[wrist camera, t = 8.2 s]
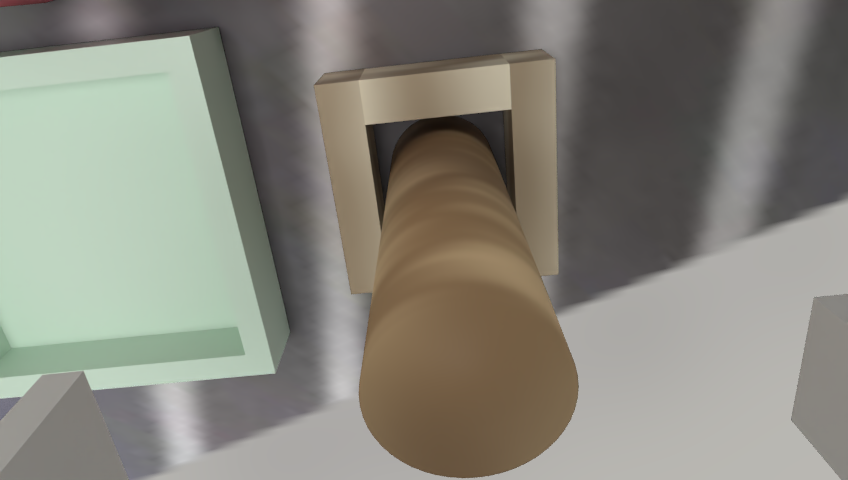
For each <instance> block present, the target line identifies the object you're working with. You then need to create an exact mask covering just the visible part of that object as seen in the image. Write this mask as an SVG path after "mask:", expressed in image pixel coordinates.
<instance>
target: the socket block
mask: <svg viewBox="0 0 848 480" xmlns="http://www.w3.org/2000/svg"><path fill="white" fill-rule="evenodd" d="M314 89H315V95H316V100H317V106H318V112H319V117H320V123H321V128H322V134H323V139H324V145H325V151H326V156H327V162H328V167H329V173H330V178H331V184H332V189H333V195H334V201H335V206H336V212H337V217H338V223H339V228H340V234H341V240H342V245H343V251H344V256H345V262H346V267H347V273H348V279H349V284H350V290H351V294H359V293H370V292H373V286H374V279H375V272H376V266H377V259H378V252H379V245H380V238H381V231H382V224H383V217H384V211H385V206H384V199H383V192H382V185H381V178H380V171H379V164H378V157H377V150H376V143H375V136H374V129H373V124H379V123H389V122H398V121H407V120H417V119H426V118H435V117H445V116H454V115H463V114H473V113H482V112H491V111H501V110H503V118H504V137H505V157H506V176H507V191H508V194H509V197H510V199H511V202H512V204H513V207H514V209H515V212H516V214H517V217H518V220H519V222H520V225H521V227H522V230H523V232H524V235H525V237H526V240H527V243H528V245H529V248H530V250H531V253H532V255H533V258H534V260H535V263H536V266H537V268H538V271H539V273H540V276H546V275H557V274H558V205H557V136H556V68H555V58H553V57H552V56H550V55H549V54H548V53H546V52H545V51H543V50H542V49H539V50H530V51H521V52H512V53H503V54H494V55H485V56H476V57H467V58H458V59H449V60H440V61H431V62H422V63H413V64H404V65H395V66H386V67H377V68H367V69H358V70H349V71H340V72H331V73H324V75H323V76H322V77H321V78H320V79H319V80H318V81H317V82H316V83H315V85H314Z"/></svg>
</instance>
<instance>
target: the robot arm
mask: <svg viewBox="0 0 848 480" xmlns="http://www.w3.org/2000/svg"><path fill="white" fill-rule="evenodd" d="M791 420H792V422H793V423H794V424H795V425H796V426H797V428H798V429H799V430H800V431H801V432H802V433H803V435H804V436H805V437H806V438H807V439H808V441H809V442H810V443H811V444H812V445H813V447H814V448H815V449H816V450H817V451H818V452H819V454H820V455H821V456H822V457H823V458H824V460H825V461H826V462H827V463H828V464H829V466H830V467H831V468H832V469H833V470H834V471H835V473H836V474H837V475H838V476H839V477H840V479H841V480H848V294H843V295H834V296H823V297H814V300H813V306H812V311H811V316H810V322H809V327H808V332H807V338H806V343H805V348H804V353H803V359H802V364H801V369H800V375H799V381H798V385H797V391H796V396H795V401H794V407H793V412H792V417H791ZM0 480H129V479H128V476H127V474H126V472H125V469H124V467H123V464H122V462H121V460H120V457H119V455H118V452H117V450H116V448H115V445H114V443H113V440H112V438H111V436H110V433H109V431H108V428H107V426H106V424H105V421H104V419H103V416H102V414H101V412H100V409H99V407H98V404H97V402H96V400H95V397H94V395H93V392H92V390H91V388H90V385H89V383H88V380H87V378H86V376H85V373H84V371H76V372H66V373H56V374H46V375H42V376H41V377H40V378H39V379H38V380H37V381H36V382H35V383H34V385H33V386H32V387H31V388H30V389H29V390H28V391H27V392H26V393H25V394H24V396H23V397H22V398H21V399H20V400H19V401H18V402H17V403H16V404H15V405H14V407H13V408H12V409H11V410H10V411H9V412H8V413H7V414H6V415H5V416H4V418H3V419H2V420H1V421H0Z"/></svg>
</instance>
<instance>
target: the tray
mask: <svg viewBox="0 0 848 480" xmlns="http://www.w3.org/2000/svg"><path fill="white" fill-rule="evenodd" d="M289 334H290V329H289V324H288V320H287V316H286V312H285V307H284V303H283V299H282V295H281V290H280V286H279V282H278V278H277V273H276V269H275V265H274V261H273V256H272V252H271V248H270V244H269V239H268V235H267V231H266V227H265V222H264V218H263V214H262V210H261V205H260V201H259V197H258V193H257V188H256V184H255V180H254V176H253V171H252V167H251V163H250V159H249V154H248V150H247V146H246V142H245V137H244V133H243V129H242V125H241V120H240V116H239V112H238V108H237V103H236V99H235V95H234V91H233V86H232V82H231V78H230V74H229V69H228V65H227V61H226V57H225V52H224V48H223V44H222V40H221V35H220V31H219V27H214V28H206V29H197V30H188V31H179V32H171V33H162V34H153V35H144V36H136V37H127V38H118V39H110V40H101V41H92V42H83V43H75V44H66V45H57V46H48V47H40V48H31V49H22V50H13V51H5V52H0V398H11V397H22V396H24V394H25V393H26V392H27V391H28V390H29V389H30V388H31V387H32V386H33V385H34V383H35V382H36V381H37V380H38V379H39V378H40V377H41V376H42V375H46V374H56V373H66V372H76V371H84V373H85V376H86V378H87V380H88V383H89V385H90V388H91V390H99V389H110V388H121V387H132V386H142V385H153V384H164V383H175V382H186V381H197V380H208V379H219V378H230V377H241V376H252V375H263V374H274V373H276V371H277V368H278V365H279V362H280V360H281V357H282V354H283V351H284V348H285V346H286V343H287V340H288V337H289Z"/></svg>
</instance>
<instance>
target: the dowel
mask: <svg viewBox="0 0 848 480" xmlns="http://www.w3.org/2000/svg"><path fill="white" fill-rule="evenodd" d="M578 387H579V386H578V375H577V371H576V367H575V363H574V360H573V358H572V355H571V353H570V350H569V348H568V345H567V342H566V340H565V337H564V335H563V332H562V330H561V327H560V325H559V322H558V319H557V317H556V314H555V312H554V309H553V307H552V304H551V301H550V299H549V296H548V294H547V291H546V289H545V286H544V284H543V281H542V278H541V276H540V273H539V271H538V268H537V266H536V263H535V260H534V258H533V255H532V253H531V250H530V248H529V245H528V243H527V240H526V237H525V235H524V232H523V230H522V227H521V225H520V222H519V220H518V217H517V214H516V212H515V209H514V207H513V204H512V202H511V199H510V197H509V194H508V191H507V189H506V186H505V184H504V181H503V179H502V176H501V173H500V171H499V168H498V166H497V163H496V161H495V158H494V156H493V153H492V150H491V148H490V145H489V143H488V141H487V139H486V138H485V136H484V135H483V134H482V132H481V131H480V130H479V129H478V128H477V127H476V126H474V125H473V124H472V123H470V122H468V121H466V120H465V119H462V118H459V117H456V116H445V117H435V118H426V119H422V120H420V121H418V122H416V123H414V124H413V125H411V126H410V127H409V128H408V129H407V130H406V131H405V132H404V133H403V134H402V136H401V137H400V138H399V140H398V142H397V144H396V146H395V149H394V151H393V156H392V162H391V169H390V176H389V183H388V190H387V197H386V204H385V211H384V217H383V224H382V231H381V238H380V245H379V252H378V259H377V266H376V272H375V279H374V286H373V293H372V300H371V307H370V314H369V321H368V327H367V334H366V341H365V348H364V355H363V362H362V369H361V376H360V383H359V401H360V408H361V411H362V414H363V418H364V420H365V422H366V425H367V427H368V429H369V430H370V432H371V433H372V435H373V436H374V438H375V439H376V440H377V441H378V442H379V444H380V445H381V446H382V447H383V448H384V449H386V450H387V451H388V452H389V453H390V454H391V455H393V456H394V457H396V458H397V459H399V460H400V461H402V462H404V463H406V464H407V465H409V466H411V467H414V468H416V469H419V470H421V471H424V472H427V473H431V474H435V475H440V476H446V477H457V478H473V477H483V476H490V475H494V474H499V473H503V472H506V471H509V470H512V469H514V468H517V467H519V466H521V465H523V464H525V463H527V462H529V461H531V460H532V459H534V458H536V457H537V456H539V455H540V454H541V453H543V452H544V451H545V450H546V449H548V448H549V447H550V446H551V445H552V444H553V443H554V442H555V441H556V440H557V439H558V438H559V436H560V435H561V434H562V432H563V431H564V430H565V428H566V426H567V425H568V423H569V422H570V420H571V417H572V415H573V413H574V410H575V407H576V403H577V398H578Z"/></svg>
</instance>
